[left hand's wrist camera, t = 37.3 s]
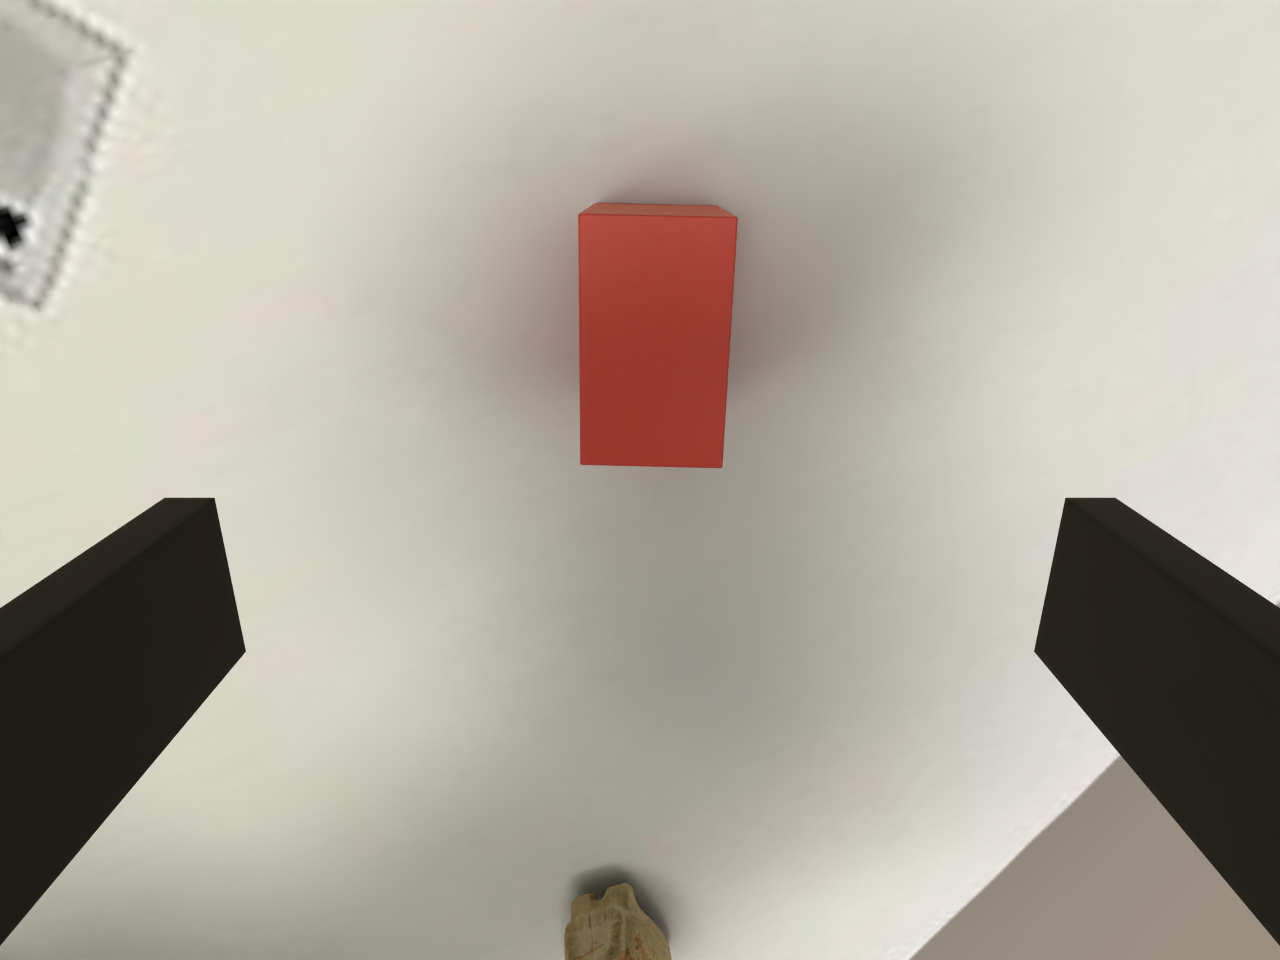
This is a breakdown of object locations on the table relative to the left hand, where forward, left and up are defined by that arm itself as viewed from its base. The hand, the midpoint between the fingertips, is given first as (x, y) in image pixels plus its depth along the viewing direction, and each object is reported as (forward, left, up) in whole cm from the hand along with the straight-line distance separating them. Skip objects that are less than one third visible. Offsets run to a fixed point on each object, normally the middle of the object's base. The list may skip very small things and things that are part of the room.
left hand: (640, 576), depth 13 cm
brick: (0, 0, -23) cm, 23 cm away
